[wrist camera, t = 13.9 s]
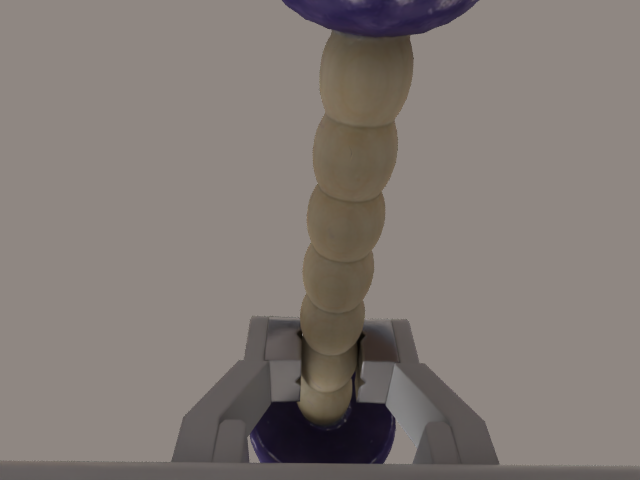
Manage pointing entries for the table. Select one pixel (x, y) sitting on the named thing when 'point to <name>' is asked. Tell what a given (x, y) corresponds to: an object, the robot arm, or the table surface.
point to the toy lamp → (347, 225)
